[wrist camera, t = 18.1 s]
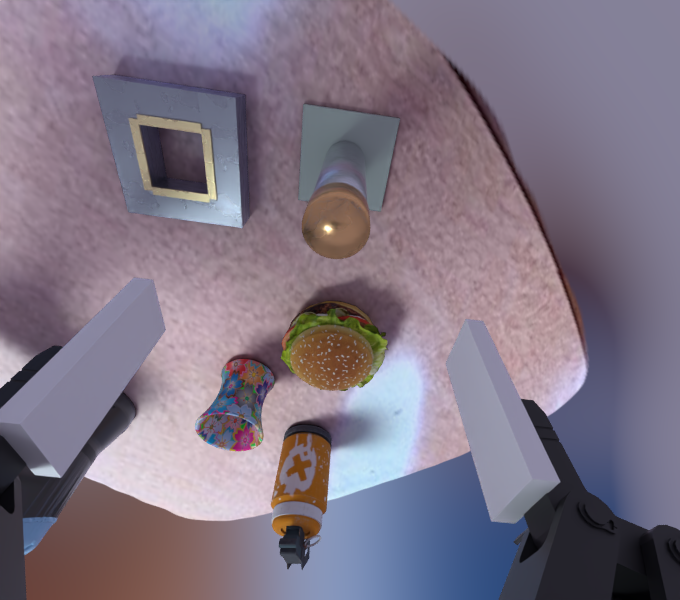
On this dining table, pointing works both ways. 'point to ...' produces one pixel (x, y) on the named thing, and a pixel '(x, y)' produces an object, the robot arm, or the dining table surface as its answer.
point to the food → (333, 346)
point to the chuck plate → (146, 153)
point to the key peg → (339, 204)
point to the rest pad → (353, 126)
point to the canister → (301, 491)
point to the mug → (237, 407)
